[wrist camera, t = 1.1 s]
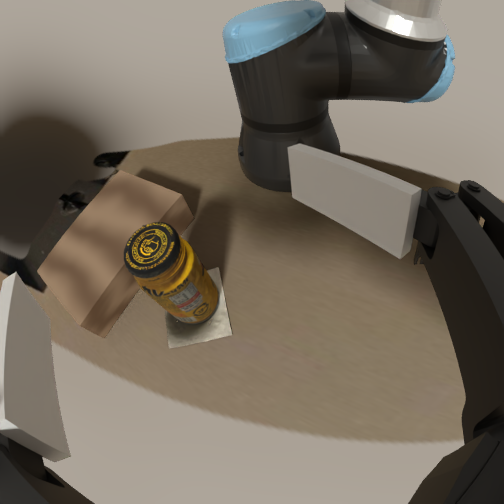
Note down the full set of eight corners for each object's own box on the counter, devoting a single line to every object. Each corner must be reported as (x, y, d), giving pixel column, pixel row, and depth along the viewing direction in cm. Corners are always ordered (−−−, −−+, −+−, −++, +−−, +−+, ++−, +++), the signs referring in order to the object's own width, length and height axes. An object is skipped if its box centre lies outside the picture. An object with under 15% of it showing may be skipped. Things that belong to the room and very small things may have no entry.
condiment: (219, 267, 35) (183, 202, 25) (232, 335, 30) (193, 291, 20) (163, 283, 35) (112, 227, 25) (170, 349, 30) (108, 313, 20)
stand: (133, 190, 45) (120, 170, 40) (194, 218, 39) (181, 194, 35) (57, 286, 38) (37, 271, 33) (104, 338, 32) (79, 325, 28)
